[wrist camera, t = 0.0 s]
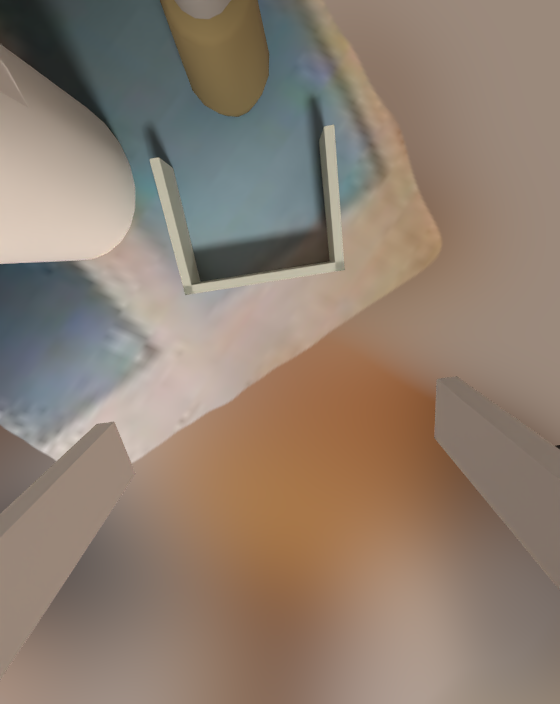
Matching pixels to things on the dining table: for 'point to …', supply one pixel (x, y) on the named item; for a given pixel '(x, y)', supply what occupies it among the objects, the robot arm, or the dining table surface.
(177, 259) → the cream u-shaped frame
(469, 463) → the robot arm
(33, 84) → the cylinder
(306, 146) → the dining table surface
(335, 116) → the dining table surface
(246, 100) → the squeeze bottle
